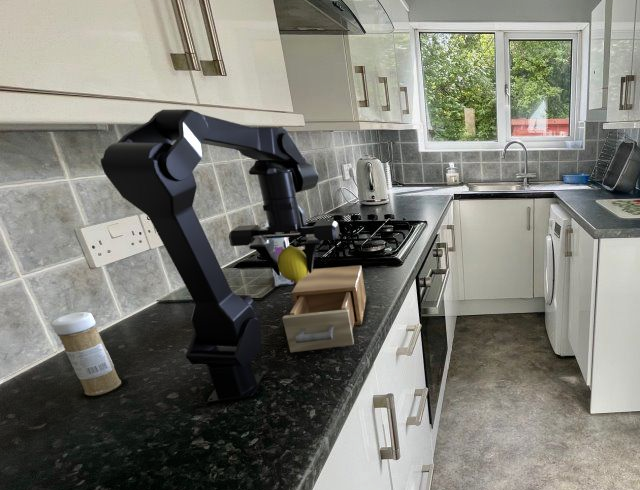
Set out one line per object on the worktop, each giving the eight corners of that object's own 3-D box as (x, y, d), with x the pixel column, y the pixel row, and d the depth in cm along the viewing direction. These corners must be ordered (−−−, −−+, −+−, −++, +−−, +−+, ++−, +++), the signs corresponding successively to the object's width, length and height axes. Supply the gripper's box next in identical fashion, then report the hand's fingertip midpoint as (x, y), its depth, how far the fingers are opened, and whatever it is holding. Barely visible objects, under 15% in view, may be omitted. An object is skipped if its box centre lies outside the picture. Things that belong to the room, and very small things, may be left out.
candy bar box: (295, 284, 113) (282, 226, 107) (274, 287, 111) (260, 228, 105) (296, 272, 122) (284, 218, 116) (277, 274, 120) (264, 219, 114)
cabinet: (361, 324, 90) (355, 286, 87) (299, 331, 87) (291, 292, 84) (366, 299, 103) (361, 265, 100) (312, 304, 101) (305, 269, 97)
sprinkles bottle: (122, 377, 72) (92, 308, 67) (121, 389, 68) (89, 318, 63) (86, 387, 69) (52, 316, 64) (83, 400, 66) (47, 326, 61)
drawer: (351, 356, 76) (345, 321, 74) (284, 365, 74) (275, 329, 71) (359, 315, 92) (354, 286, 90) (304, 321, 90) (298, 291, 87)
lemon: (300, 288, 82) (292, 250, 79) (276, 286, 83) (267, 248, 80) (317, 279, 87) (310, 242, 84) (294, 277, 88) (286, 241, 85)
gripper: (336, 189, 88) (347, 258, 93) (238, 193, 83) (256, 265, 89) (329, 197, 78) (342, 274, 83) (217, 202, 73) (239, 283, 79)
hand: (295, 273), depth 84 cm, fingers closed on lemon, 5 cm apart
